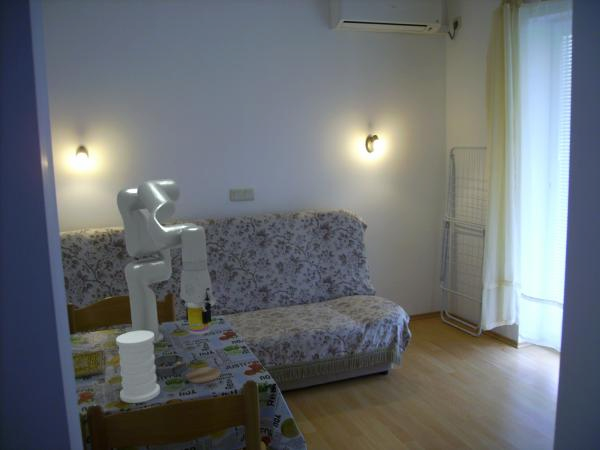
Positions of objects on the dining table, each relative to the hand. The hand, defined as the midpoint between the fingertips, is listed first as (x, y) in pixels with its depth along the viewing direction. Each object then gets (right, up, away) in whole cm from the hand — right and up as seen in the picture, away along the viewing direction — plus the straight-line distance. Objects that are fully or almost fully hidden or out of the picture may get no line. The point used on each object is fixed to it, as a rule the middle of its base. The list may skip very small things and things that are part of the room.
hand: (199, 320), depth 170 cm
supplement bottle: (0, -4, +1) cm, 4 cm away
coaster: (+1, -18, +2) cm, 18 cm away
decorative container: (-16, -21, -9) cm, 28 cm away
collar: (-12, -18, +10) cm, 24 cm away
